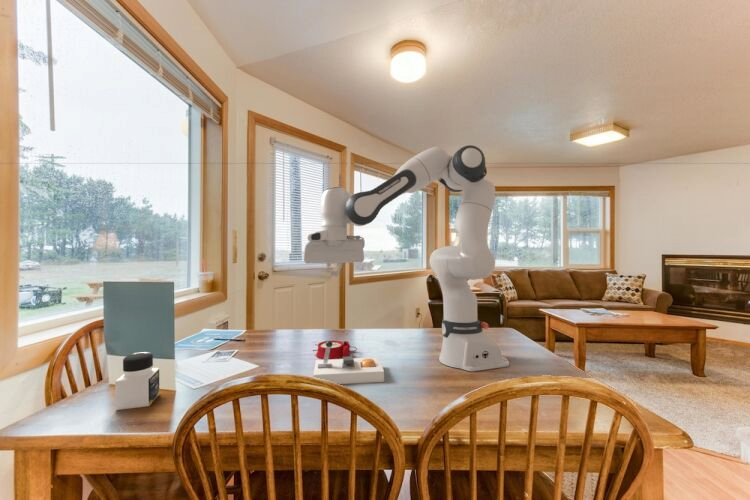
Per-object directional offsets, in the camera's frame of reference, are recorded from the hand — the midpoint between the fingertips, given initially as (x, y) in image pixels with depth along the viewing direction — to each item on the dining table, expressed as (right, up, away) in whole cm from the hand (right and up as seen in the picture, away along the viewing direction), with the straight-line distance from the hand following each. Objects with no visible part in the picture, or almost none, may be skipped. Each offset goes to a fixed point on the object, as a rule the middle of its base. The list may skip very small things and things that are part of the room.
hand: (334, 276), depth 109 cm
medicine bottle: (-46, -30, -28) cm, 61 cm away
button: (+12, -28, -12) cm, 33 cm away
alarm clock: (-1, -29, +7) cm, 30 cm away
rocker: (+6, -25, -12) cm, 28 cm away
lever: (-1, -25, -13) cm, 28 cm away
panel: (+6, -29, -12) cm, 32 cm away
